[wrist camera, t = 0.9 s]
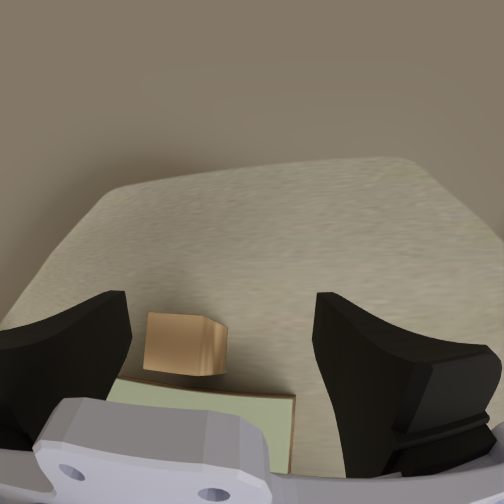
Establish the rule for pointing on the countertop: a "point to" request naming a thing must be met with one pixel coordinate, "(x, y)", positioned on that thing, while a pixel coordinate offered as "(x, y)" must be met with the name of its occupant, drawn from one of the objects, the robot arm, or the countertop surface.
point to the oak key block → (185, 344)
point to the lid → (247, 407)
